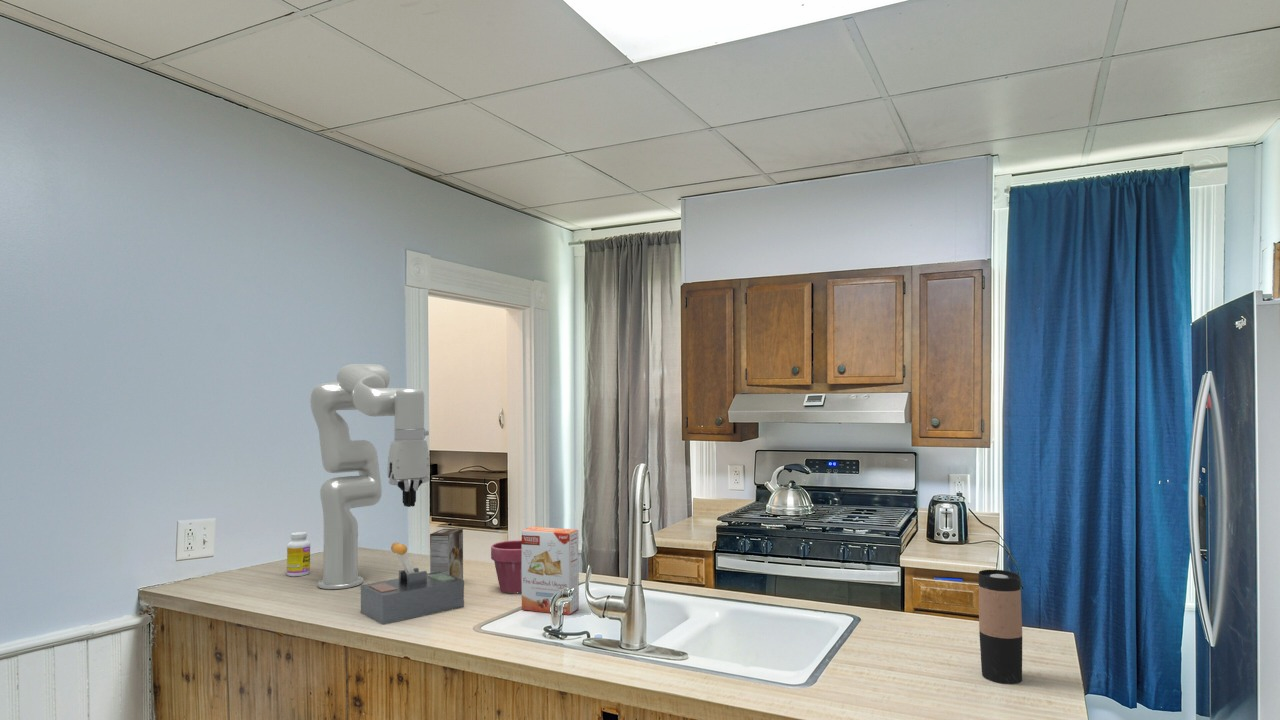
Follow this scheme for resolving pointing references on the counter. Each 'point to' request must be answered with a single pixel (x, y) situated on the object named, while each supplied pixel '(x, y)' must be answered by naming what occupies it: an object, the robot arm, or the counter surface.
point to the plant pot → (508, 565)
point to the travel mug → (1000, 626)
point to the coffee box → (447, 552)
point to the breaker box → (411, 596)
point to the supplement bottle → (298, 555)
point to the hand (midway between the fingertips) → (409, 505)
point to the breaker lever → (402, 556)
